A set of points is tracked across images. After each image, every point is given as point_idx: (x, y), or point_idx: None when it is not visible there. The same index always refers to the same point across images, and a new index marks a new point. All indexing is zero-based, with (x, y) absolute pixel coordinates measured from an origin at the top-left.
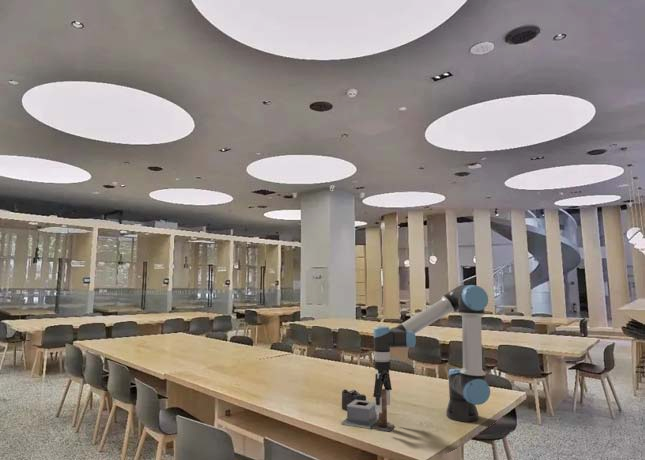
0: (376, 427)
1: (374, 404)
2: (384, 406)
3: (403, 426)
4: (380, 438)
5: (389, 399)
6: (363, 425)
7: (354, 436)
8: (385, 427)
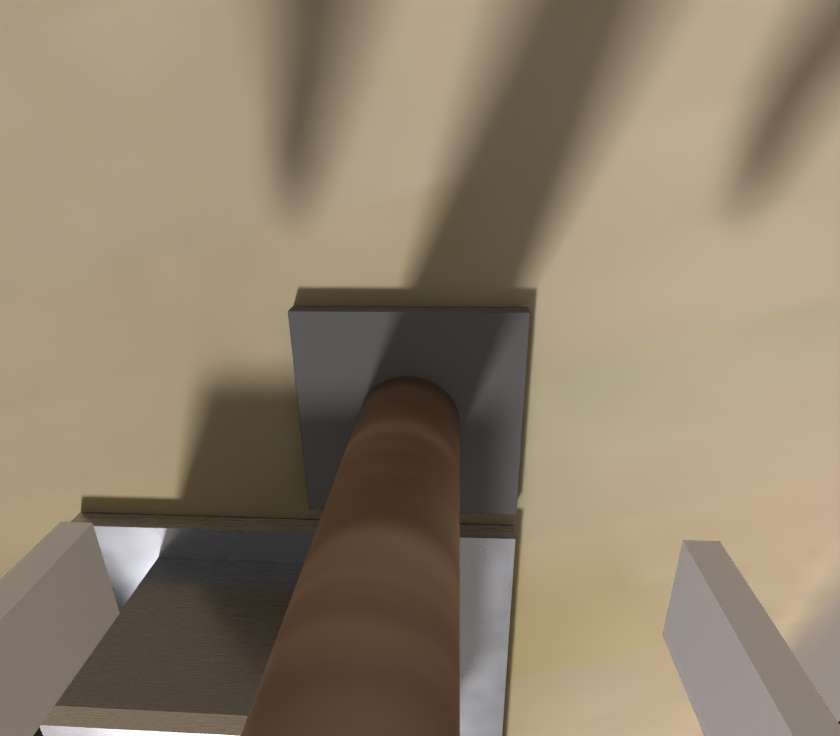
0: (489, 475)
1: (140, 718)
2: (434, 587)
3: (226, 187)
4: (809, 343)
5: (9, 616)
6: (499, 603)
7: (807, 593)
8: (440, 384)
